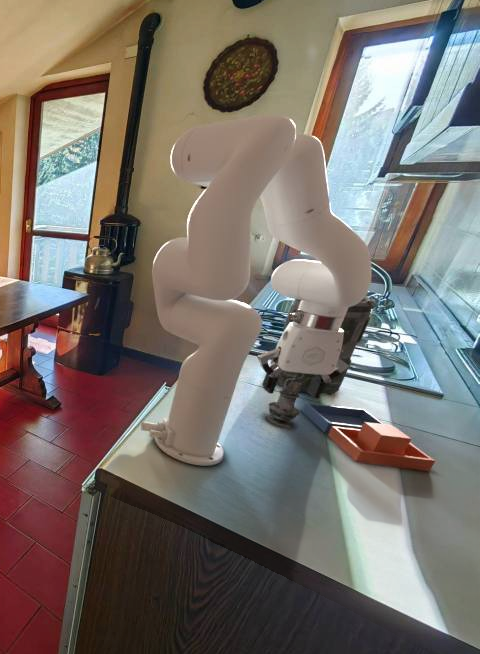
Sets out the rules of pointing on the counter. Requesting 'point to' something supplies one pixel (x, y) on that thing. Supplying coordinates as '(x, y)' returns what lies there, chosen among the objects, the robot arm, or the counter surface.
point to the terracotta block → (382, 439)
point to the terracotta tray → (409, 459)
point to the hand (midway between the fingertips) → (289, 393)
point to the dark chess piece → (285, 404)
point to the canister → (353, 334)
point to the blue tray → (337, 416)
